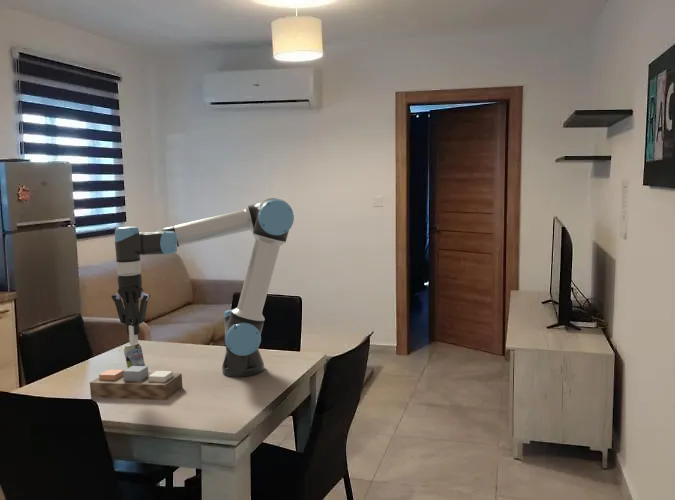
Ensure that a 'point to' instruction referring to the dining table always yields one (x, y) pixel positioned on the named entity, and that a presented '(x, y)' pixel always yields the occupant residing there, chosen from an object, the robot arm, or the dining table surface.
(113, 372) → the terracotta key
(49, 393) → the dining table surface
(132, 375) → the slate key
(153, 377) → the offwhite key
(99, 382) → the console
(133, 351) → the beverage can
